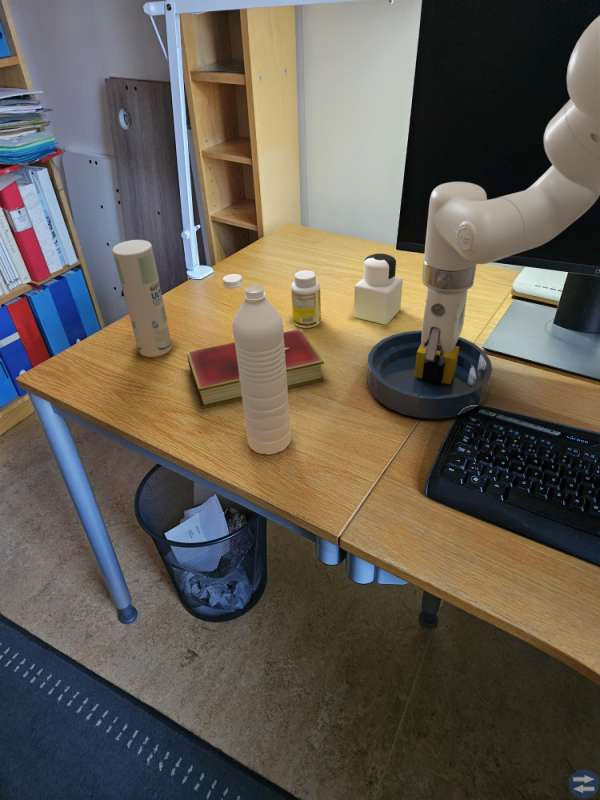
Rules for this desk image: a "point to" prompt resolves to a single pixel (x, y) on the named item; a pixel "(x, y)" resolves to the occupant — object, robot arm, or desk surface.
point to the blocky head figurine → (378, 290)
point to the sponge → (449, 361)
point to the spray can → (143, 296)
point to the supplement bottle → (306, 299)
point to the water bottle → (261, 369)
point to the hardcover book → (221, 374)
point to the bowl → (416, 397)
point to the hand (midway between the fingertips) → (435, 373)
